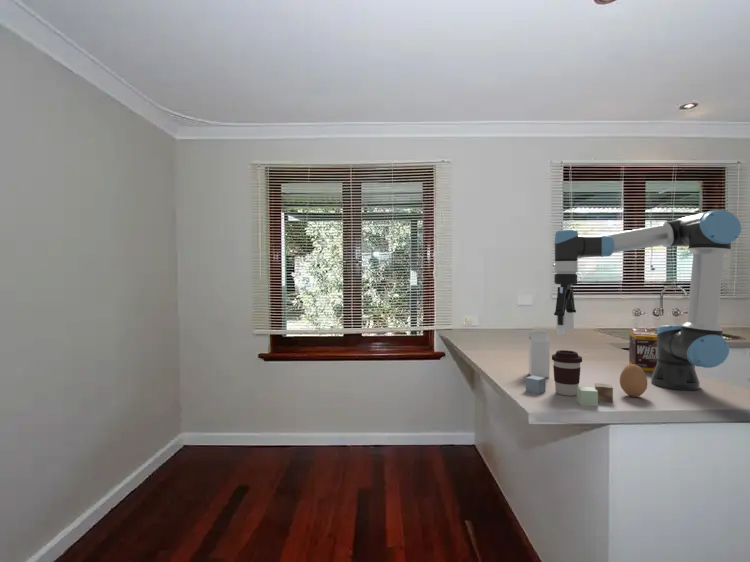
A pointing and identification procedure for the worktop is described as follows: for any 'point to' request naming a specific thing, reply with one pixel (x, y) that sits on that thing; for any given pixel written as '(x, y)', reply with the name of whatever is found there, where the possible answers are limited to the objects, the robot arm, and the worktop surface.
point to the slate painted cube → (535, 384)
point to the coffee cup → (566, 372)
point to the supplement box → (643, 350)
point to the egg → (633, 380)
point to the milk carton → (539, 353)
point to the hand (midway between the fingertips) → (565, 332)
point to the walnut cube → (604, 392)
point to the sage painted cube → (587, 396)
